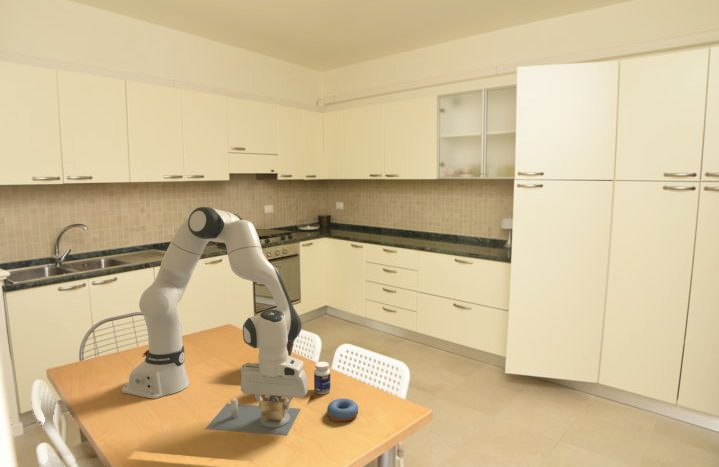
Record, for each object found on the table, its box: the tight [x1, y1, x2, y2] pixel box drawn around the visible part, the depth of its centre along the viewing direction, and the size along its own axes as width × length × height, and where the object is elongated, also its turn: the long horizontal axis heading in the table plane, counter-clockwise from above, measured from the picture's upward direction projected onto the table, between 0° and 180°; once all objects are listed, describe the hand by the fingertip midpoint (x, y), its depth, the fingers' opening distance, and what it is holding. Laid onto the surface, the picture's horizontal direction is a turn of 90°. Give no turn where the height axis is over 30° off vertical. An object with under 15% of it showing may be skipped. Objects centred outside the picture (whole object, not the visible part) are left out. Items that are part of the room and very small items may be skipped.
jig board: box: [204, 397, 302, 436], centre depth 138 cm, size 25×15×9 cm, turn 82°
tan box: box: [261, 395, 289, 420], centre depth 137 cm, size 6×6×5 cm
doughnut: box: [326, 397, 359, 423], centre depth 143 cm, size 10×10×5 cm
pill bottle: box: [313, 361, 331, 395], centre depth 158 cm, size 6×6×10 cm
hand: (274, 407), depth 137 cm, fingers closed on tan box, 6 cm apart
